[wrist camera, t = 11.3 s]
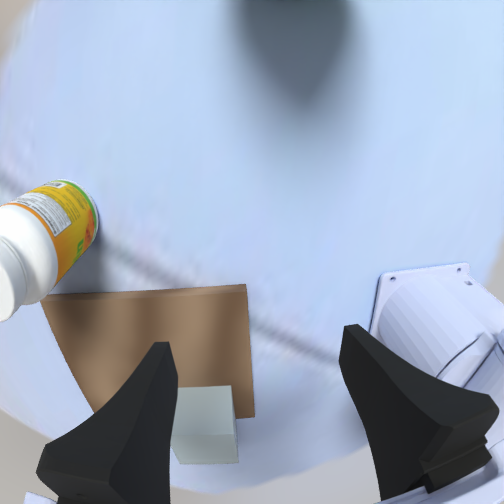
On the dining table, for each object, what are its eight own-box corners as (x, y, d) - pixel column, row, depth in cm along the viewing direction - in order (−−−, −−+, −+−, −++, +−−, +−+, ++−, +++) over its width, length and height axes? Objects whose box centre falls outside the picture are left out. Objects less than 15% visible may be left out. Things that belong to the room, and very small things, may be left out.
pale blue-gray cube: (230, 385, 24) (233, 433, 20) (235, 419, 26) (238, 462, 22) (171, 387, 24) (165, 434, 20) (183, 420, 26) (180, 464, 22)
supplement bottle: (73, 266, 20) (7, 352, 11) (25, 217, 18) (-61, 279, 9) (115, 216, 19) (44, 293, 10) (61, 161, 17) (-37, 202, 8)
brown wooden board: (245, 284, 22) (246, 291, 21) (253, 409, 27) (254, 417, 27) (45, 294, 21) (40, 301, 20) (98, 409, 26) (96, 416, 26)
